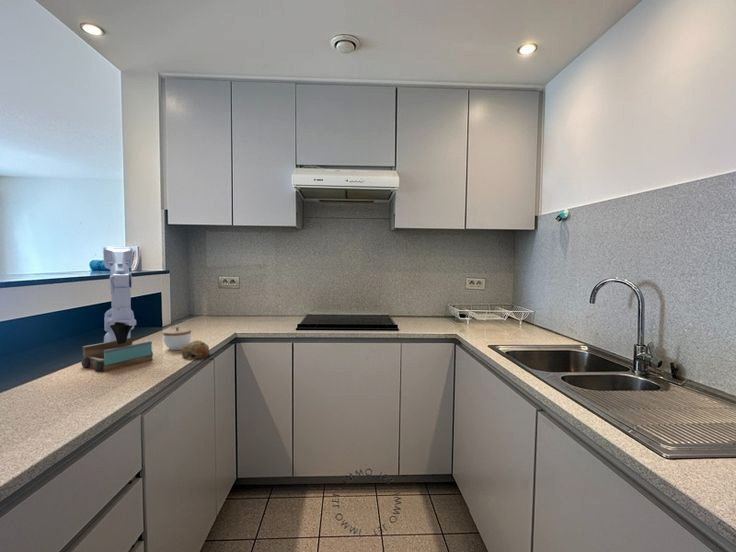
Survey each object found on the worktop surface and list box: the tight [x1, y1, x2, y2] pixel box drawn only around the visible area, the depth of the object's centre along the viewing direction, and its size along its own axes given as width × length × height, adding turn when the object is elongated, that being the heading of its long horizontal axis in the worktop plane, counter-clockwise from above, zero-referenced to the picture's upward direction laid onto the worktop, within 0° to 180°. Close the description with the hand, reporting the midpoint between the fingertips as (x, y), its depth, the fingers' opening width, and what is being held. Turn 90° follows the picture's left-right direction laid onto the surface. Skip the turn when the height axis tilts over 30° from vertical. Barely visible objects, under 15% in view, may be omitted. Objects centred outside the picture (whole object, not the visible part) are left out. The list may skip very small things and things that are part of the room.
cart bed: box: [80, 337, 154, 373], centre depth 126 cm, size 14×18×7 cm
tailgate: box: [104, 340, 153, 365], centre depth 123 cm, size 1×16×5 cm, turn 155°
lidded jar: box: [162, 326, 192, 351], centre depth 148 cm, size 11×11×9 cm
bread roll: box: [181, 340, 210, 360], centre depth 137 cm, size 10×10×8 cm
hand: (121, 343), depth 125 cm, fingers closed
